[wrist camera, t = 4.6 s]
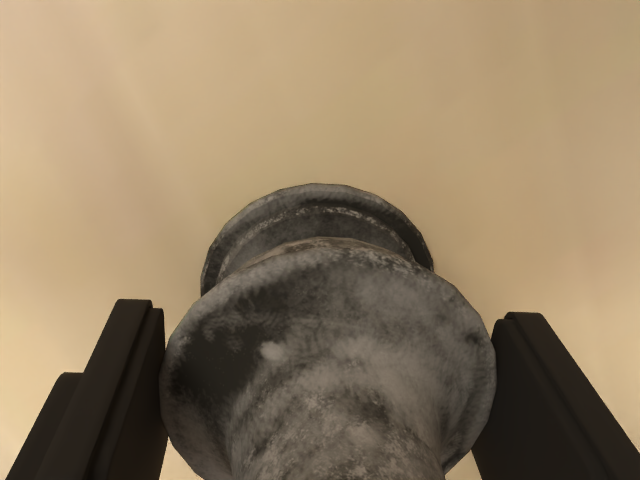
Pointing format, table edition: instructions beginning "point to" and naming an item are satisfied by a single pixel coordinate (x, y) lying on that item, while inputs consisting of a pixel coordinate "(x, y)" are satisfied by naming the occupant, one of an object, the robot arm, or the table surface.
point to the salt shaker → (325, 348)
